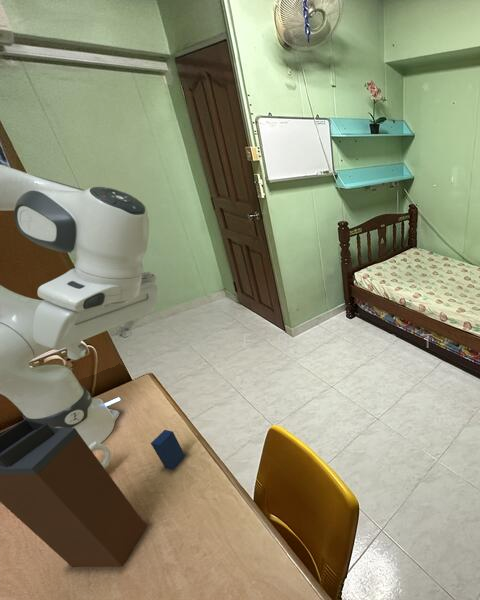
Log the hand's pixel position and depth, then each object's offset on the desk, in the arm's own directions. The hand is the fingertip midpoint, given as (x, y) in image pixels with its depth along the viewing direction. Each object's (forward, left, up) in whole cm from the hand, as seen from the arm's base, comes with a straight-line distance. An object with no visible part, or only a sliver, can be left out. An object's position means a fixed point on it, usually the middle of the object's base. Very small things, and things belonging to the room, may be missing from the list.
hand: (101, 345), depth 60 cm
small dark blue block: (-1, +2, -40) cm, 40 cm away
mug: (-14, -9, -40) cm, 44 cm away
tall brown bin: (+4, -16, -40) cm, 43 cm away
